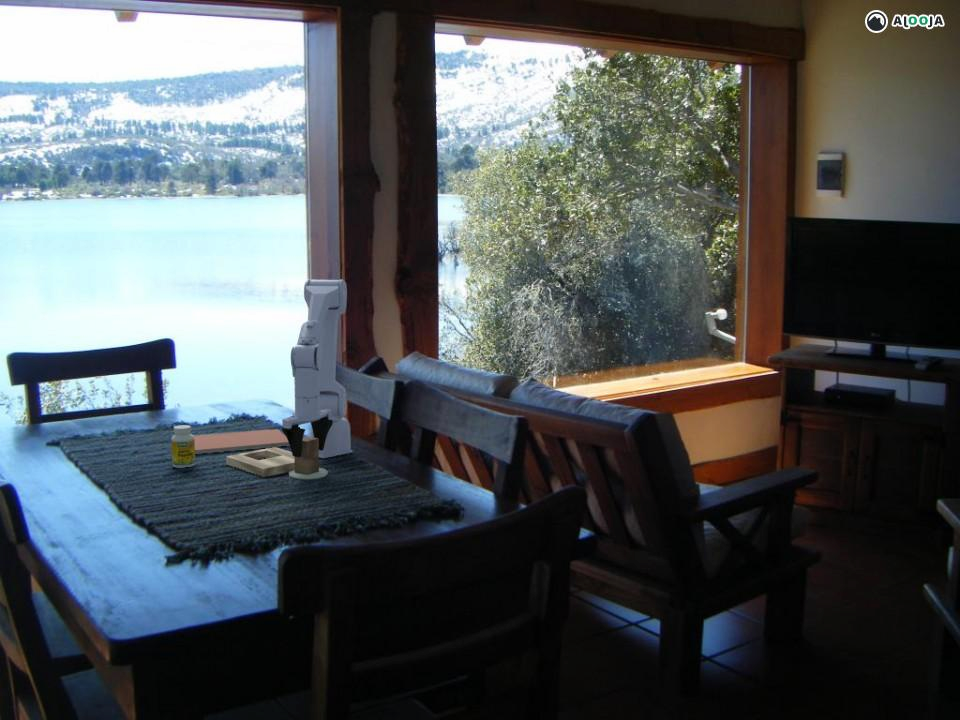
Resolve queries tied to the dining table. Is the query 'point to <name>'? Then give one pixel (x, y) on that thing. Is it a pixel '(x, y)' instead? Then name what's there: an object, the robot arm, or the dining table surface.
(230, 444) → the notebook
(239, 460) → the board
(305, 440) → the walnut block
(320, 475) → the coaster
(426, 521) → the dining table surface
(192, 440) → the supplement bottle
